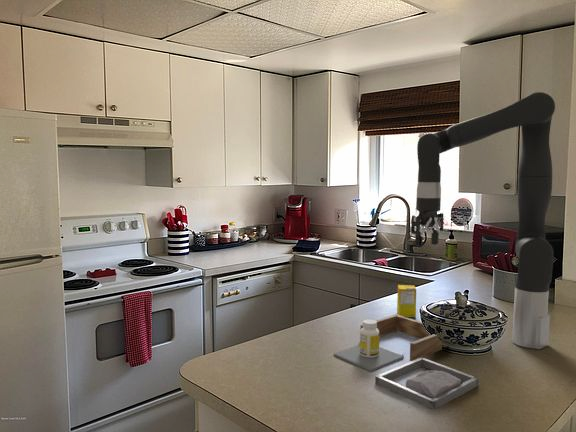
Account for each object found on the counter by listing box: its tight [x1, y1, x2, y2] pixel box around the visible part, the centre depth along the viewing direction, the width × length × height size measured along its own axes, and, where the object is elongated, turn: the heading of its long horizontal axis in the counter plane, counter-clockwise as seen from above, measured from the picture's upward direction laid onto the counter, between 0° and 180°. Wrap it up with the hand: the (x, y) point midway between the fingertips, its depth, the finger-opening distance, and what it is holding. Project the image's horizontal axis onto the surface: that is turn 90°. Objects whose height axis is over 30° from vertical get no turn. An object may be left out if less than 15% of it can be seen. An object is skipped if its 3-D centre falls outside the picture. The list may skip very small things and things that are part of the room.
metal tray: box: [374, 357, 479, 411], centre depth 124 cm, size 17×19×2 cm
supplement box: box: [396, 284, 417, 320], centre depth 177 cm, size 6×6×11 cm
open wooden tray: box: [360, 313, 443, 362], centre depth 151 cm, size 20×17×5 cm
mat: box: [333, 344, 405, 373], centre depth 142 cm, size 14×14×1 cm
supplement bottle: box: [359, 318, 380, 358], centre depth 141 cm, size 5×5×10 cm
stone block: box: [405, 369, 462, 399], centre depth 121 cm, size 12×5×10 cm
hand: (426, 245), depth 162 cm, fingers open, 8 cm apart
